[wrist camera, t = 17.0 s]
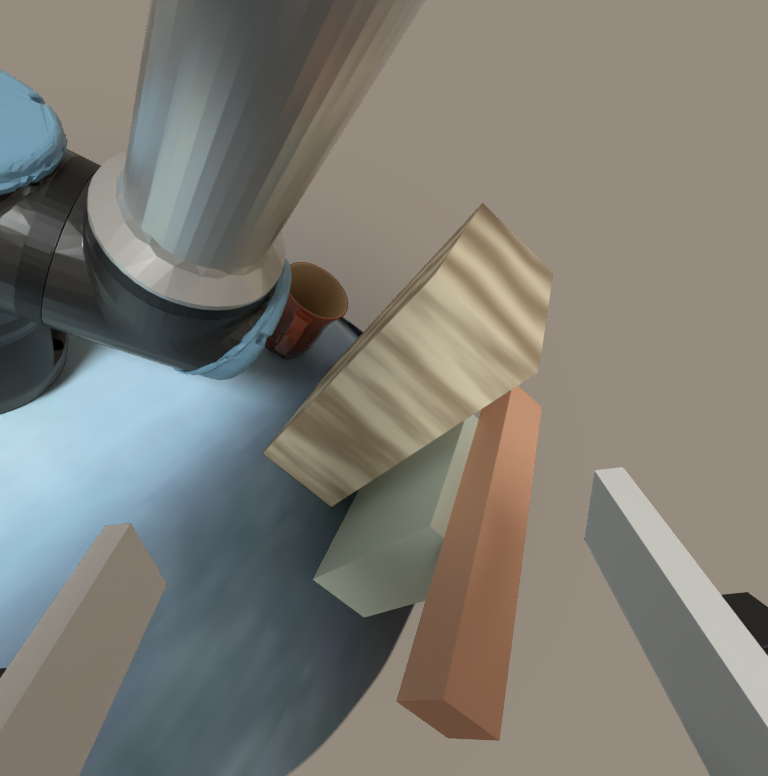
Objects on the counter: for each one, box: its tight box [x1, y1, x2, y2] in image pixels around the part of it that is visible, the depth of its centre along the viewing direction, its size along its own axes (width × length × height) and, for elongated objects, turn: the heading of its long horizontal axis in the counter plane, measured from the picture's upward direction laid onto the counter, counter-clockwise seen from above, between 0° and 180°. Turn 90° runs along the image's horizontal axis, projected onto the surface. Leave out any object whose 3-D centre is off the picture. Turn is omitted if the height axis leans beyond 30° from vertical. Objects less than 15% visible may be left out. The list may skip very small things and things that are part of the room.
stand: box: [263, 203, 553, 507], centre depth 46 cm, size 18×10×30 cm, turn 155°
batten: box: [397, 386, 542, 740], centre depth 34 cm, size 28×4×4 cm, turn 155°
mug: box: [265, 262, 348, 357], centre depth 55 cm, size 12×9×10 cm
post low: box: [313, 415, 479, 617], centre depth 44 cm, size 14×7×19 cm, turn 155°
